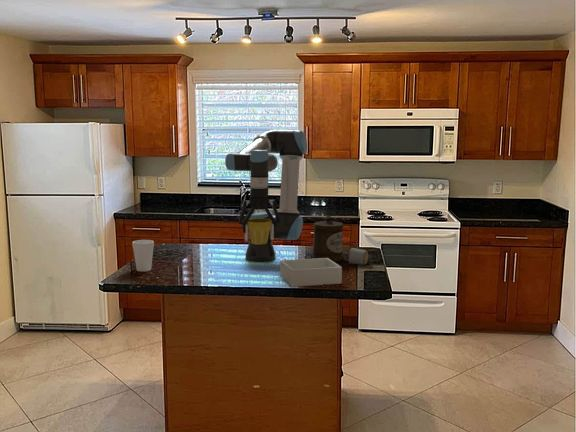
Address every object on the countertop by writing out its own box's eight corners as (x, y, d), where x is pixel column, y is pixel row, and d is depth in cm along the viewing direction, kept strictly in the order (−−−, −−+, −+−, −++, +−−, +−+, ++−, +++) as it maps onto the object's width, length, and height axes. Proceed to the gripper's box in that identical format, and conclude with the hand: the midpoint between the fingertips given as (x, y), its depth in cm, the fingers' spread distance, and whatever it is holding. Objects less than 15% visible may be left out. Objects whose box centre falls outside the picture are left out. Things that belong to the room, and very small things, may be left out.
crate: (280, 275, 239) (280, 260, 238) (327, 273, 245) (327, 257, 244) (291, 286, 222) (291, 270, 221) (341, 283, 228) (341, 267, 227)
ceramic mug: (364, 266, 258) (365, 250, 257) (348, 264, 261) (348, 249, 260) (370, 262, 268) (370, 247, 267) (354, 260, 271) (354, 245, 270)
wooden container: (333, 263, 264) (335, 218, 261) (307, 259, 272) (308, 216, 269) (347, 257, 277) (348, 215, 273) (321, 254, 284) (322, 212, 281)
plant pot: (252, 246, 221) (252, 222, 220) (243, 241, 230) (243, 219, 229) (275, 244, 226) (275, 221, 224) (265, 240, 235) (265, 217, 233)
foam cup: (158, 268, 250) (157, 240, 248) (147, 273, 241) (146, 244, 239) (140, 266, 253) (140, 239, 251) (128, 271, 244) (128, 242, 242)
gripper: (233, 188, 218) (233, 242, 221) (288, 187, 224) (287, 240, 227) (230, 186, 225) (230, 239, 229) (283, 186, 231) (283, 237, 234)
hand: (259, 239), depth 228 cm, fingers closed on plant pot, 10 cm apart
